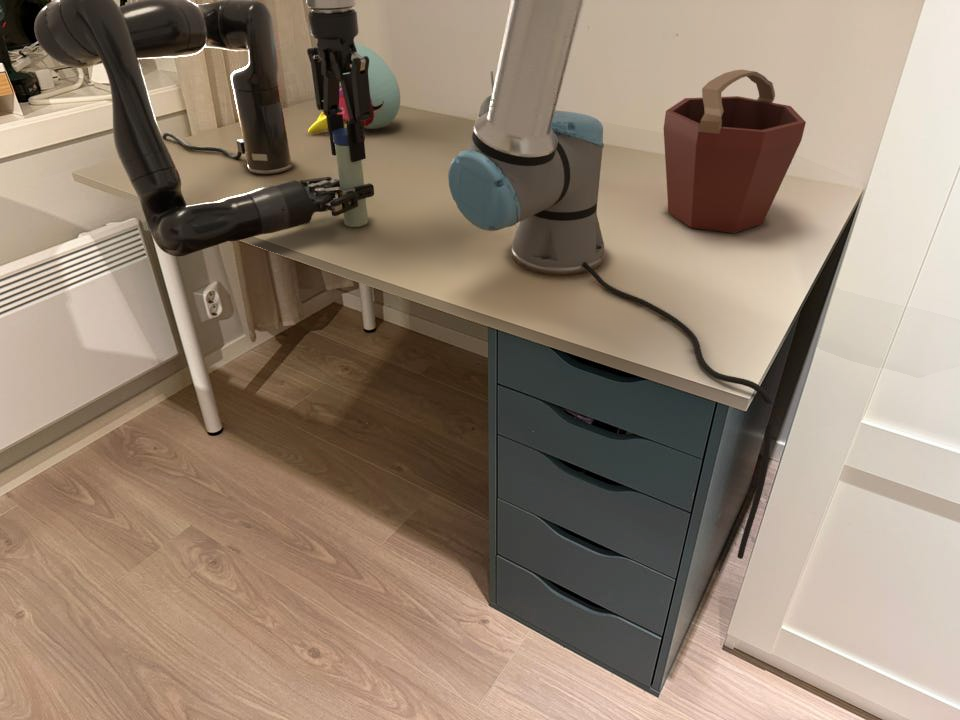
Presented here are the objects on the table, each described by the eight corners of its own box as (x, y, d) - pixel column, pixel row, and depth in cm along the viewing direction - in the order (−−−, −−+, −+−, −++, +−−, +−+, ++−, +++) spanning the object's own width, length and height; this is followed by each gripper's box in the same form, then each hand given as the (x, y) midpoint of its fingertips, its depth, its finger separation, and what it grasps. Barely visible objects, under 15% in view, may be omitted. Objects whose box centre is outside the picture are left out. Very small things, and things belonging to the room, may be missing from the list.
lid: (335, 137, 124) (334, 127, 123) (362, 136, 124) (361, 127, 123) (331, 145, 120) (329, 135, 119) (358, 145, 120) (357, 135, 119)
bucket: (710, 250, 119) (740, 96, 105) (622, 208, 134) (638, 69, 120) (804, 218, 129) (843, 75, 115) (713, 183, 145) (736, 53, 131)
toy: (277, 110, 181) (275, 51, 163) (352, 72, 191) (358, 13, 173) (336, 175, 178) (341, 122, 160) (410, 134, 188) (421, 79, 170)
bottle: (346, 217, 132) (335, 130, 123) (369, 217, 132) (360, 130, 123) (342, 227, 128) (331, 137, 119) (366, 226, 128) (356, 137, 119)
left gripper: (292, 198, 113) (384, 175, 121) (256, 175, 122) (344, 155, 131) (299, 242, 117) (388, 216, 125) (264, 215, 126) (349, 194, 135)
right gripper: (387, 11, 107) (398, 162, 120) (318, 1, 117) (335, 141, 130) (347, 17, 103) (363, 173, 116) (279, 6, 113) (301, 151, 126)
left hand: (365, 185), depth 128 cm, fingers closed on bottle, 4 cm apart
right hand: (348, 156), depth 123 cm, fingers closed on lid, 5 cm apart
